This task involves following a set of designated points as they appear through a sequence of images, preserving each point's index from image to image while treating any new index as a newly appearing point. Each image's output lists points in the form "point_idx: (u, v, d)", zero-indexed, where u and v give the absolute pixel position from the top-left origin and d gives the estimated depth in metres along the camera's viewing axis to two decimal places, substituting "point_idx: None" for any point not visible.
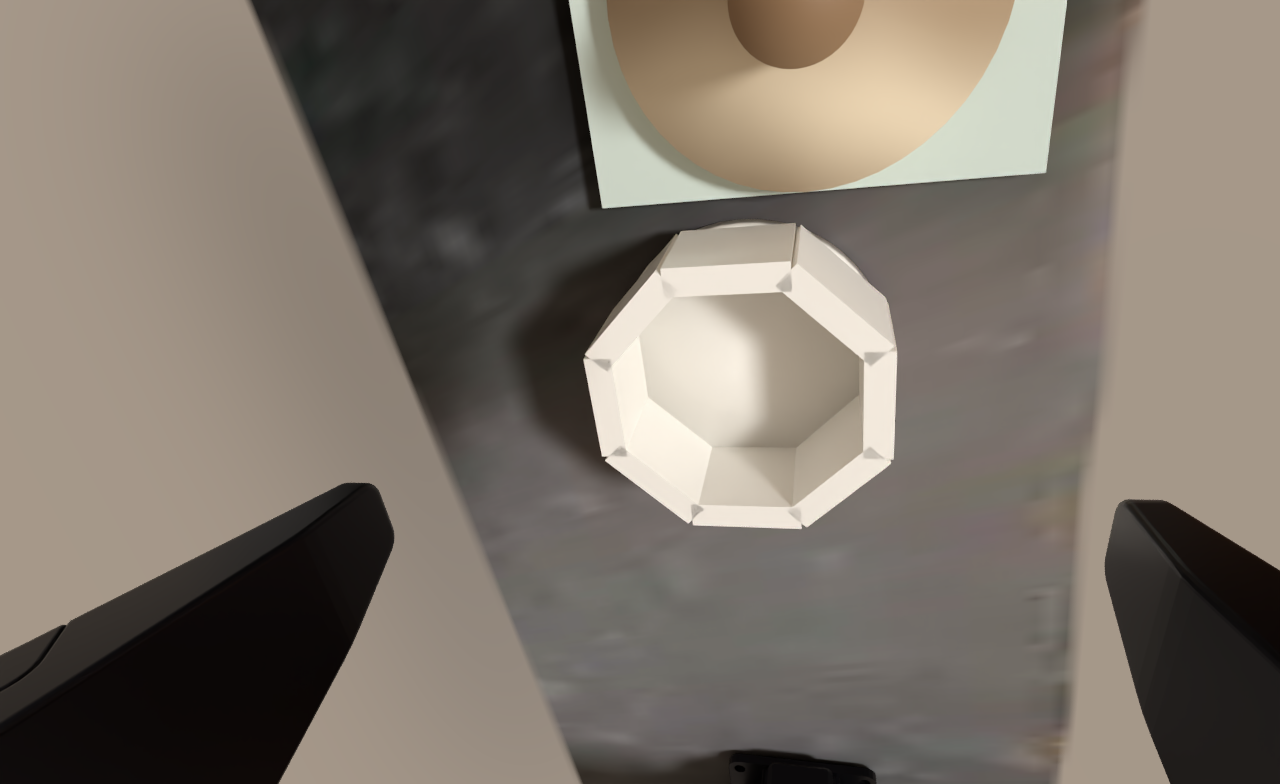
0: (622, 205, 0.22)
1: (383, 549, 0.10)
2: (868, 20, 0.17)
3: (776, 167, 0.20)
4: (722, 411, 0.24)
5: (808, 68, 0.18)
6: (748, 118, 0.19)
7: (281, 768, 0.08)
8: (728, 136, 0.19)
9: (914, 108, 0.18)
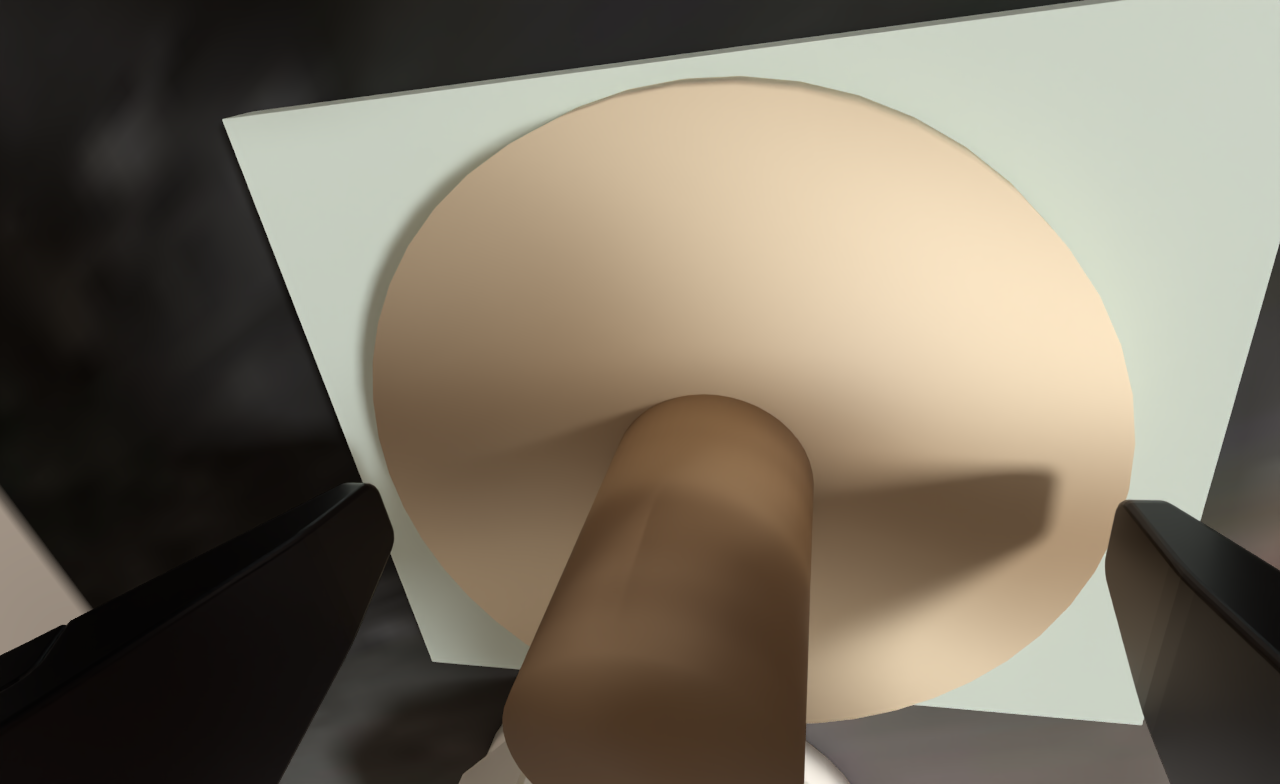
0: (464, 658, 0.14)
1: (383, 549, 0.10)
2: (833, 535, 0.10)
3: None
4: None
5: None
6: None
7: (280, 768, 0.08)
8: None
9: (917, 655, 0.10)
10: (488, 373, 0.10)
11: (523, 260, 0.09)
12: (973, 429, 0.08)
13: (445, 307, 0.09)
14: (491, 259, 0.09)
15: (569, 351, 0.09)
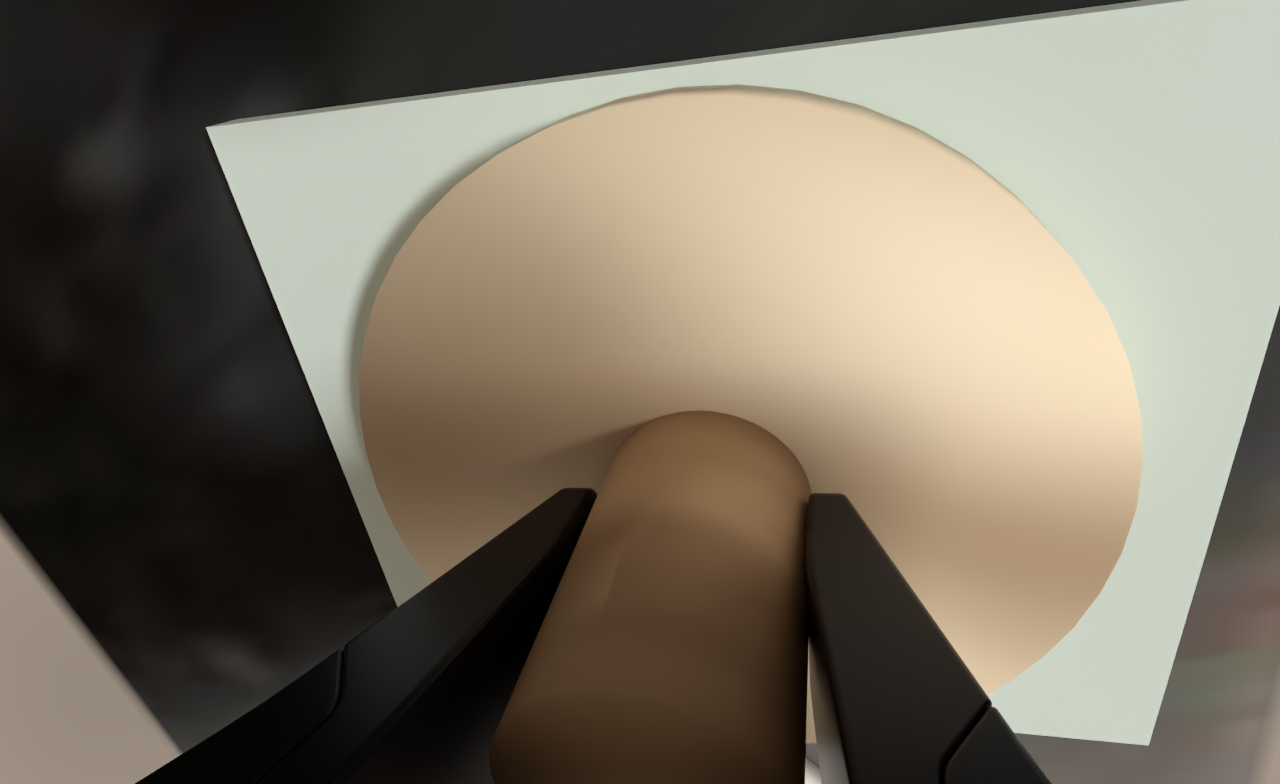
0: None
1: None
2: None
3: None
4: None
5: None
6: None
7: None
8: None
9: None
10: (478, 388, 0.09)
11: (513, 273, 0.08)
12: (976, 447, 0.08)
13: (434, 321, 0.09)
14: (480, 272, 0.08)
15: (561, 366, 0.09)
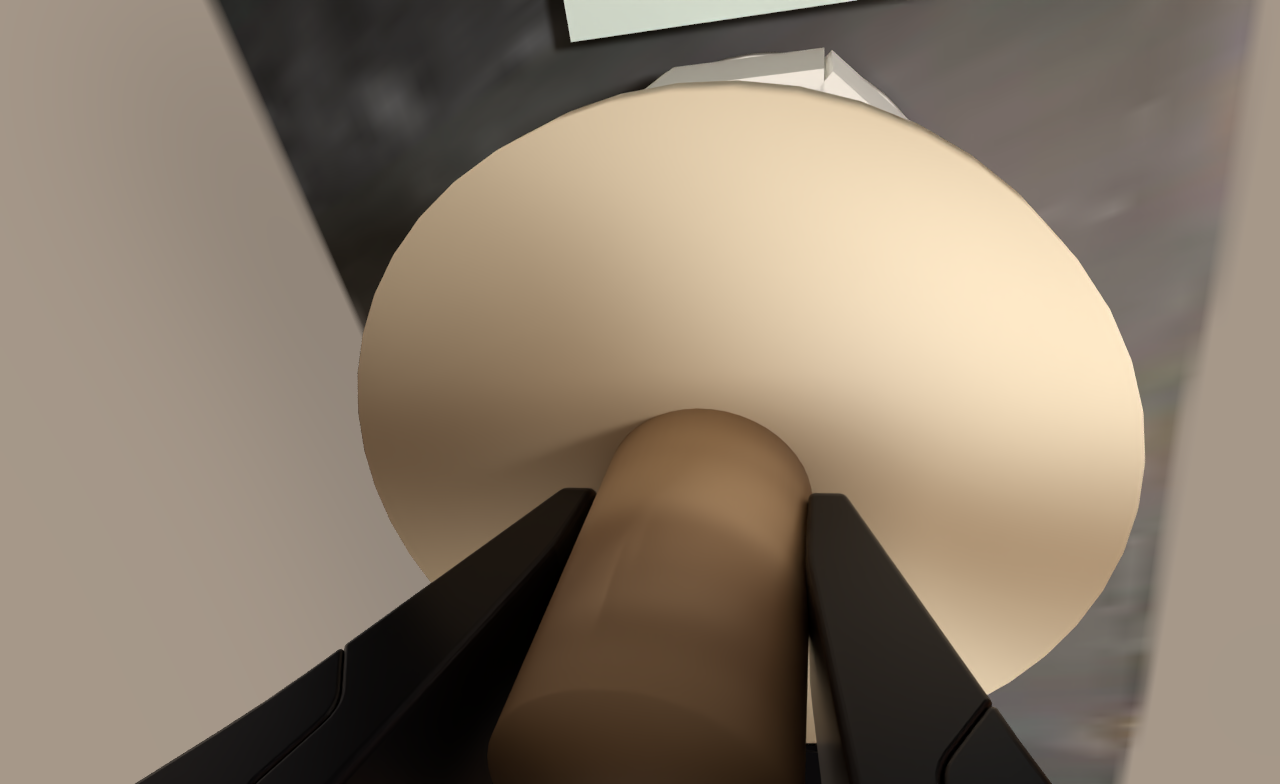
0: None
1: None
2: None
3: None
4: None
5: None
6: None
7: None
8: None
9: None
10: (477, 386, 0.09)
11: (512, 270, 0.08)
12: (977, 446, 0.08)
13: (432, 318, 0.09)
14: (479, 269, 0.08)
15: (560, 364, 0.09)
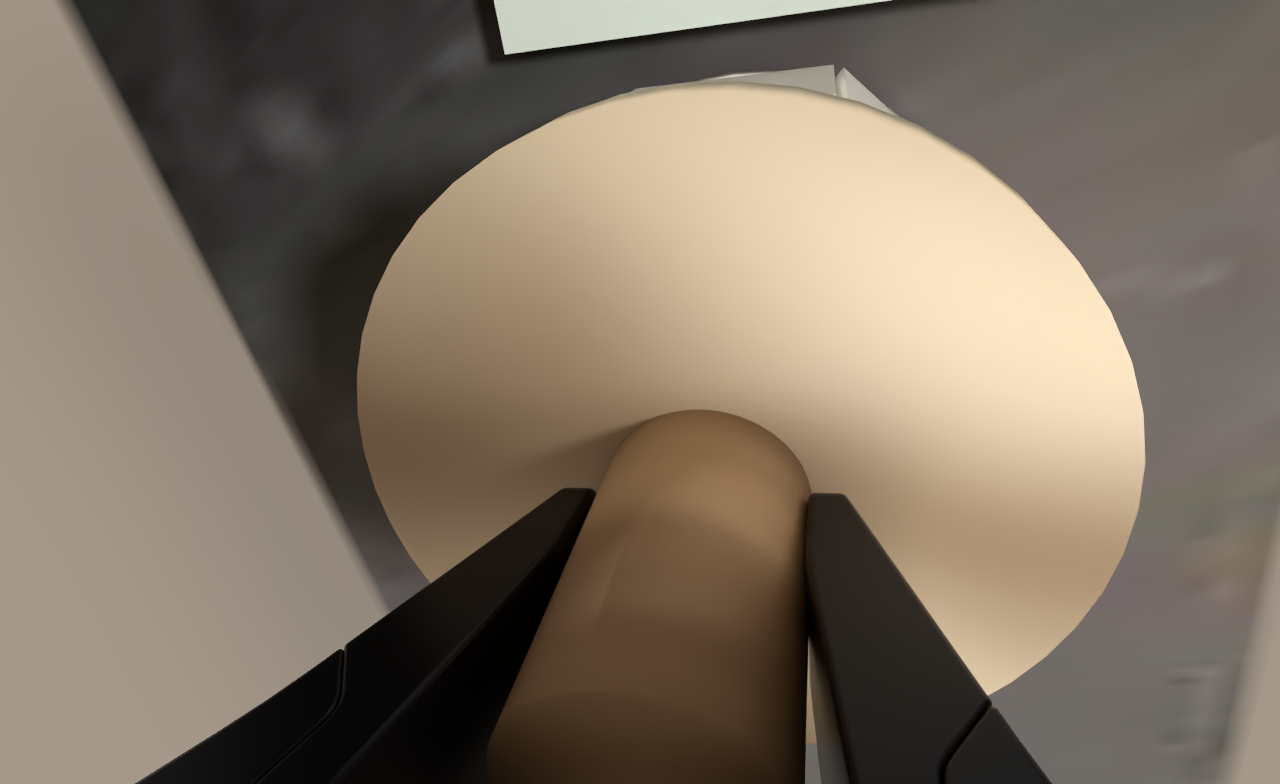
0: (539, 49, 0.13)
1: None
2: None
3: None
4: None
5: None
6: None
7: None
8: None
9: None
10: (476, 387, 0.09)
11: (512, 271, 0.08)
12: (977, 447, 0.08)
13: (431, 319, 0.09)
14: (478, 269, 0.08)
15: (560, 364, 0.09)
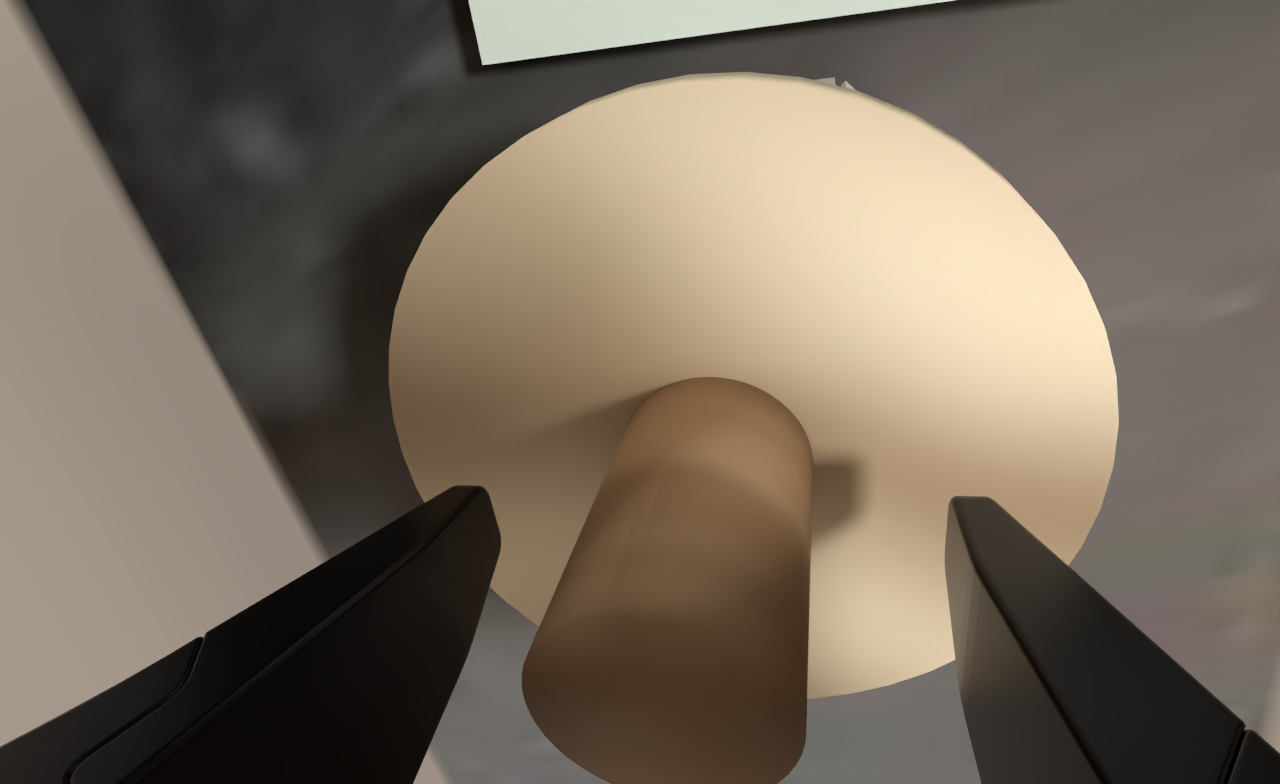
0: (519, 59, 0.12)
1: (492, 554, 0.10)
2: (831, 513, 0.10)
3: None
4: None
5: None
6: None
7: None
8: None
9: (911, 630, 0.11)
10: (501, 357, 0.10)
11: (536, 248, 0.09)
12: (965, 409, 0.09)
13: (461, 293, 0.10)
14: (505, 247, 0.09)
15: (579, 336, 0.09)
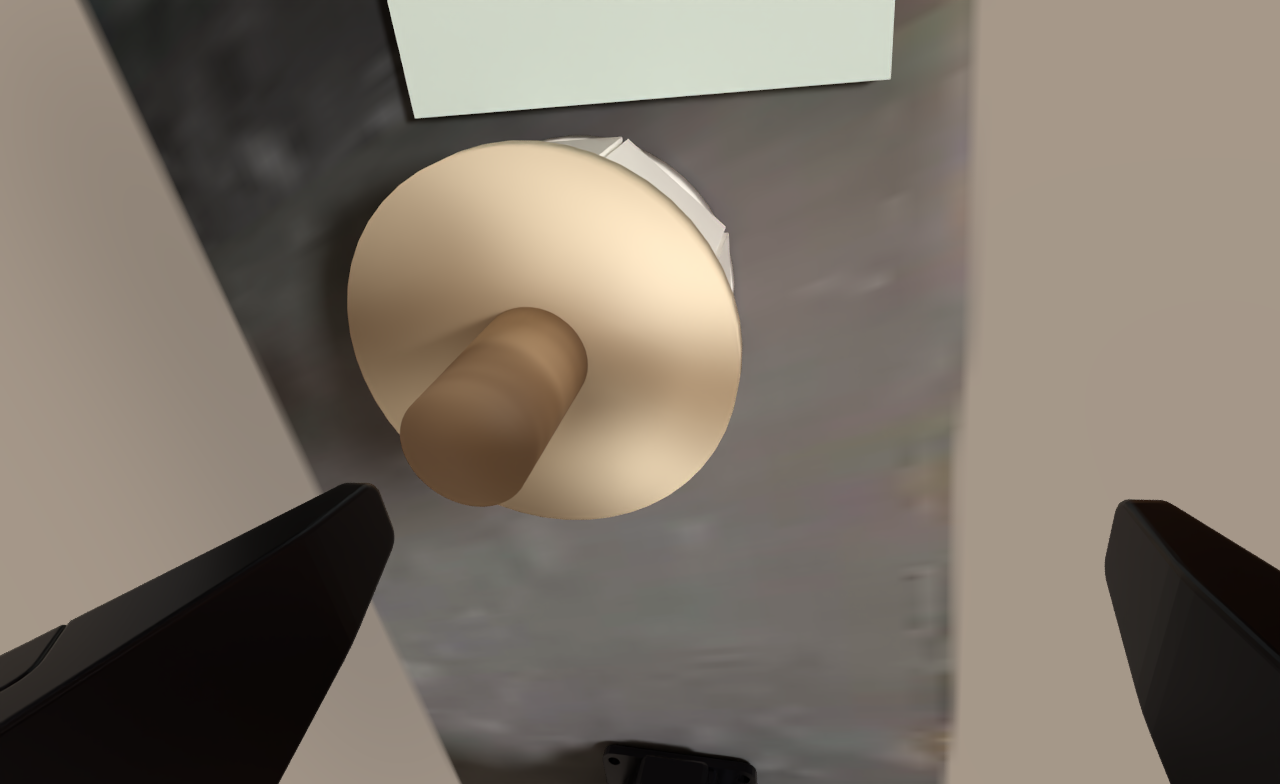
0: (437, 116, 0.19)
1: (383, 549, 0.10)
2: (601, 390, 0.17)
3: (533, 495, 0.19)
4: None
5: None
6: None
7: (280, 769, 0.08)
8: None
9: (655, 466, 0.18)
10: (412, 294, 0.17)
11: (429, 231, 0.16)
12: (660, 326, 0.16)
13: (388, 256, 0.17)
14: (412, 230, 0.16)
15: (454, 282, 0.17)
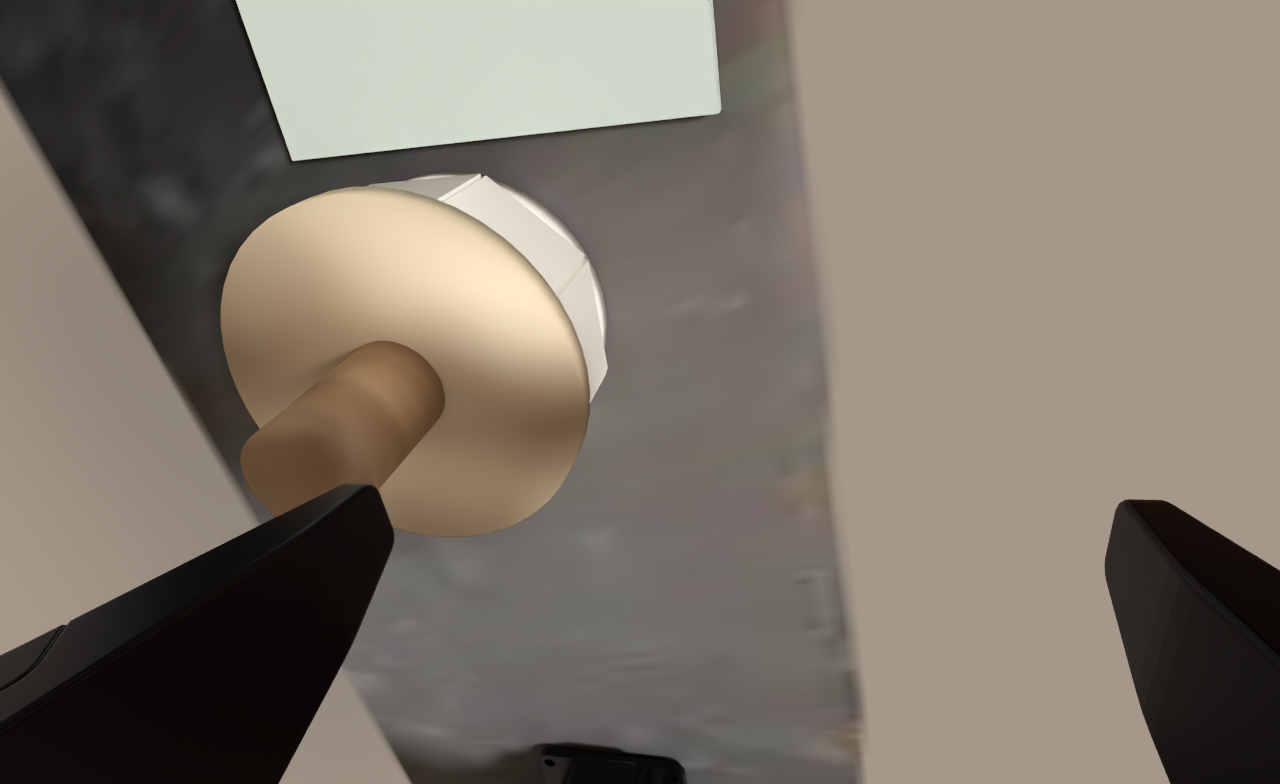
0: (313, 157, 0.20)
1: (383, 549, 0.10)
2: (460, 416, 0.18)
3: (414, 515, 0.20)
4: None
5: (419, 446, 0.19)
6: None
7: (281, 769, 0.08)
8: None
9: (519, 485, 0.19)
10: (278, 331, 0.18)
11: (285, 273, 0.17)
12: (503, 356, 0.17)
13: (252, 296, 0.18)
14: (270, 272, 0.17)
15: (315, 319, 0.18)
